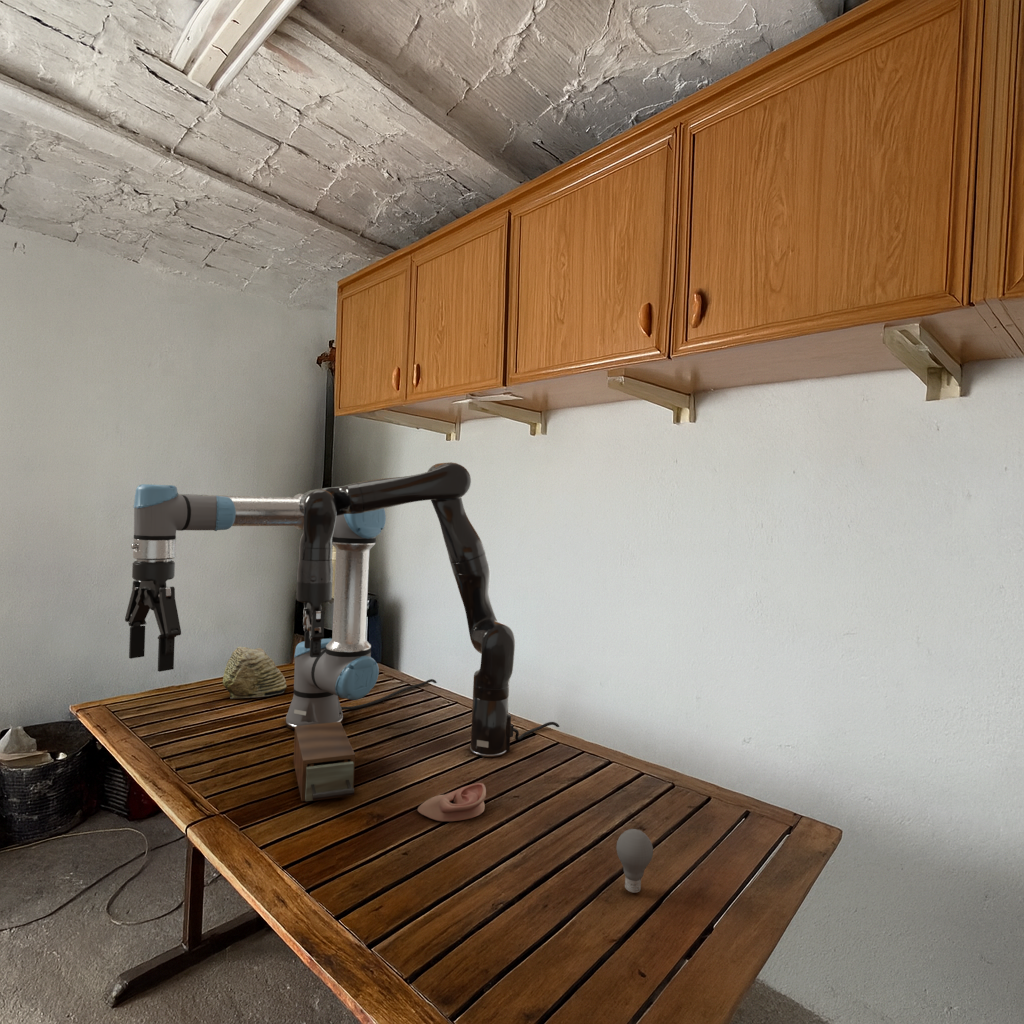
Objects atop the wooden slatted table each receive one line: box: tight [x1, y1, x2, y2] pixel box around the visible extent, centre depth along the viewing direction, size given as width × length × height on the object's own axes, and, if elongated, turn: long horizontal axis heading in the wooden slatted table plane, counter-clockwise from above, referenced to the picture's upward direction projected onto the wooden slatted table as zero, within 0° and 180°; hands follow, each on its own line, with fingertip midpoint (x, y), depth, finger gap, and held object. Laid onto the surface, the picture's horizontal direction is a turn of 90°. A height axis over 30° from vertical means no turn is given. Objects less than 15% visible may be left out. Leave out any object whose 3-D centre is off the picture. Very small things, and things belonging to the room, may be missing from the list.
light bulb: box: [615, 828, 654, 894], centre depth 106 cm, size 6×6×10 cm
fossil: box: [222, 646, 288, 699], centre depth 198 cm, size 9×18×15 cm, turn 132°
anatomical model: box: [417, 782, 487, 822], centre depth 131 cm, size 13×4×12 cm
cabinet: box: [293, 722, 356, 802], centre depth 143 cm, size 21×11×9 cm, turn 23°
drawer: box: [305, 759, 355, 802], centre depth 138 cm, size 25×9×7 cm, turn 24°
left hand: (150, 663), depth 129 cm, fingers open, 13 cm apart
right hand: (312, 652), depth 140 cm, fingers open, 8 cm apart
